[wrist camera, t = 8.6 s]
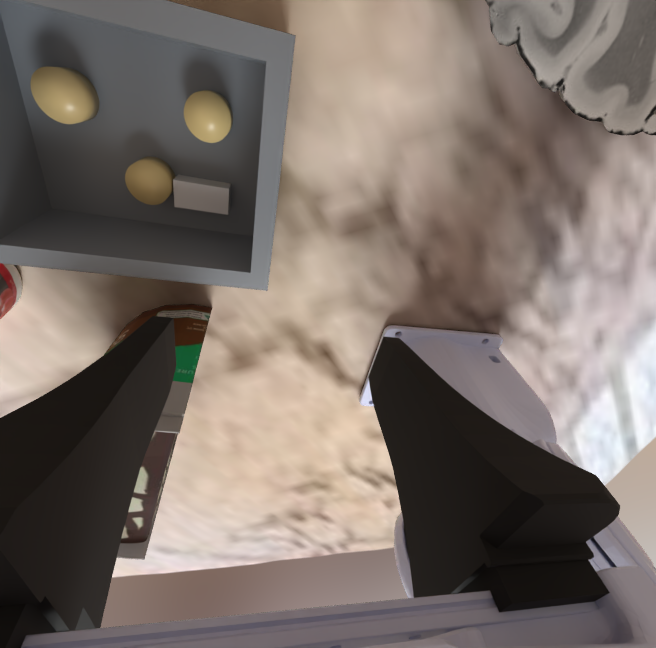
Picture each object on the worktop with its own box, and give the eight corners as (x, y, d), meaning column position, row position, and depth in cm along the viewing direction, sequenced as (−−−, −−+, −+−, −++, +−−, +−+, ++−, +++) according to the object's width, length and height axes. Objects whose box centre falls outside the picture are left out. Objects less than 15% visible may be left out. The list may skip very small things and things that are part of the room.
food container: (102, 256, 18) (-29, 393, 10) (217, 287, 20) (182, 423, 12) (93, 404, 25) (6, 562, 17) (182, 417, 27) (143, 563, 19)
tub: (288, 47, 14) (295, 35, 10) (268, 246, 19) (267, 290, 15) (-24, -36, 12) (-174, -92, 8) (46, 217, 17) (-25, 260, 13)
